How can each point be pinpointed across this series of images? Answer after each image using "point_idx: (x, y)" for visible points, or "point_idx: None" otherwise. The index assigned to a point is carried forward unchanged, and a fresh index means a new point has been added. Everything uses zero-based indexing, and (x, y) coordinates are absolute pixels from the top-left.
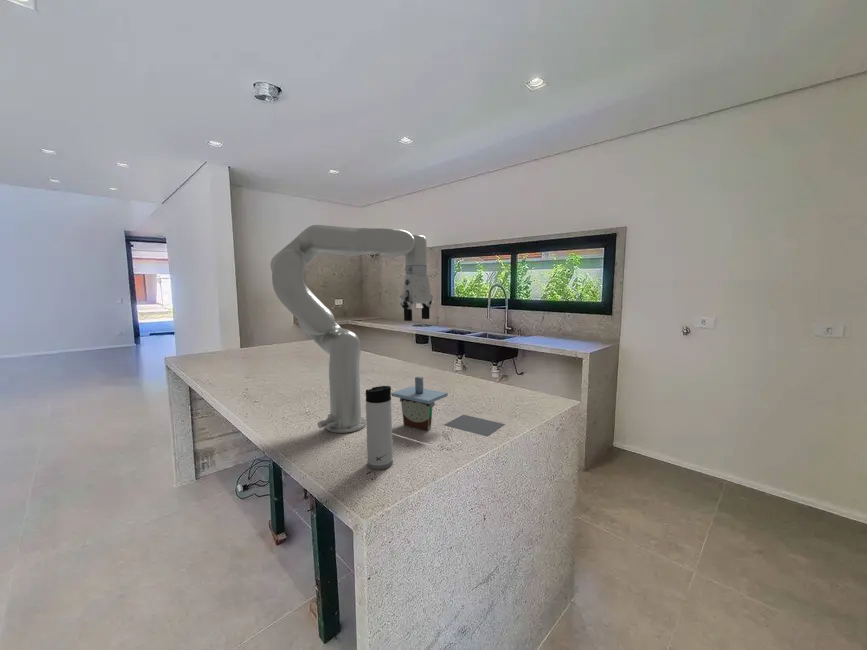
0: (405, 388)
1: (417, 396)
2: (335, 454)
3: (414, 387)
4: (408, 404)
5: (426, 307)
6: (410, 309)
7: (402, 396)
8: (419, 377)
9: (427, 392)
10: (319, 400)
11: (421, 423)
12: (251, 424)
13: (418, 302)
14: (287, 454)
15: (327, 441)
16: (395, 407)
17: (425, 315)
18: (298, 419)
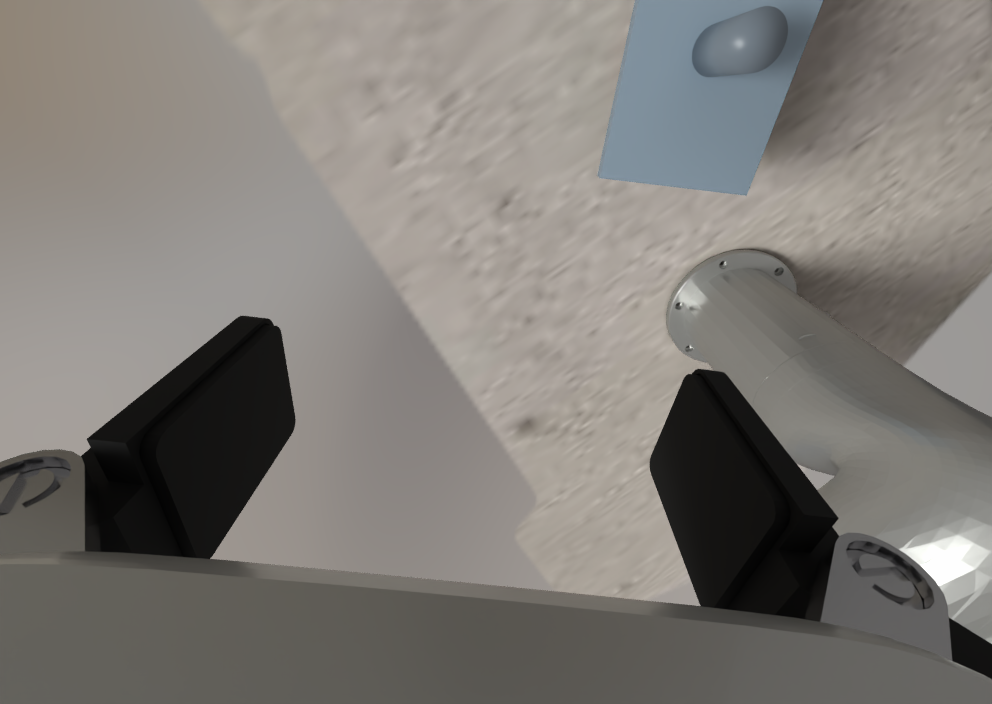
0: (651, 180)
1: (788, 15)
2: (953, 185)
3: (618, 146)
4: None
5: (135, 504)
6: (831, 525)
7: (774, 115)
8: (755, 39)
9: (695, 5)
10: (555, 497)
11: None
12: None
13: (783, 634)
14: (953, 303)
15: (855, 274)
16: (508, 279)
17: (261, 398)
18: None
